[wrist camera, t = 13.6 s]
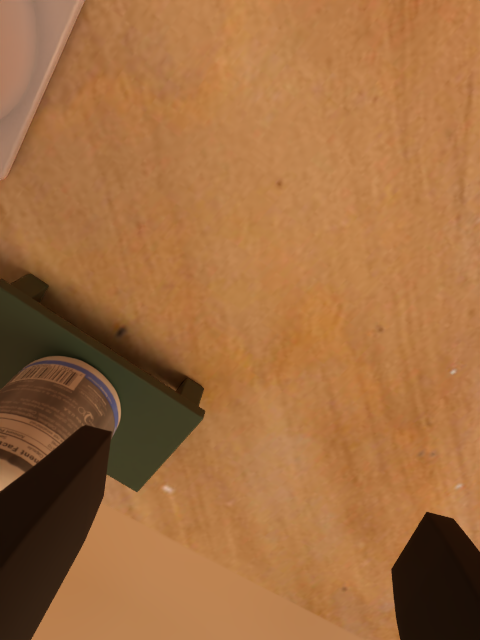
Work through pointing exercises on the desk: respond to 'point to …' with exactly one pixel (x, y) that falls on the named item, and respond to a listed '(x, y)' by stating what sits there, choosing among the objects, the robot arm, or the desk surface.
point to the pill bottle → (50, 410)
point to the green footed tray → (127, 379)
